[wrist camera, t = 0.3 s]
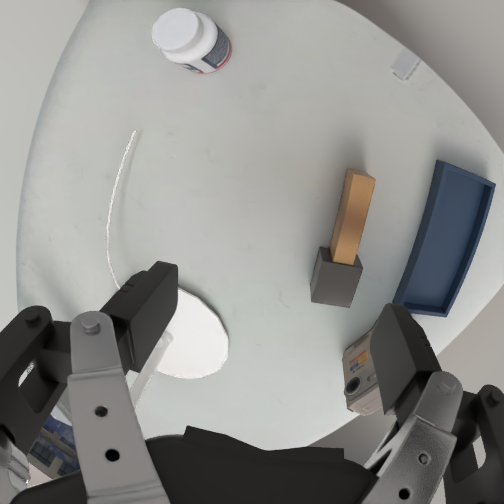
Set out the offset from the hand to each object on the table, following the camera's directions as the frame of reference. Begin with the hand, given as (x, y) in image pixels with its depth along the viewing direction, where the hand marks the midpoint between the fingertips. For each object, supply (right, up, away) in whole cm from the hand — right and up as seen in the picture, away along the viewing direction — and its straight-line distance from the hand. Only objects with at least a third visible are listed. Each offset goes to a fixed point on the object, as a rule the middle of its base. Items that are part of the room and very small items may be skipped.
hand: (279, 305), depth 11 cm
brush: (+9, +4, +20) cm, 22 cm away
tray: (+22, +3, +18) cm, 29 cm away
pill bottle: (-6, +23, +14) cm, 27 cm away
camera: (+16, -10, +25) cm, 31 cm away
